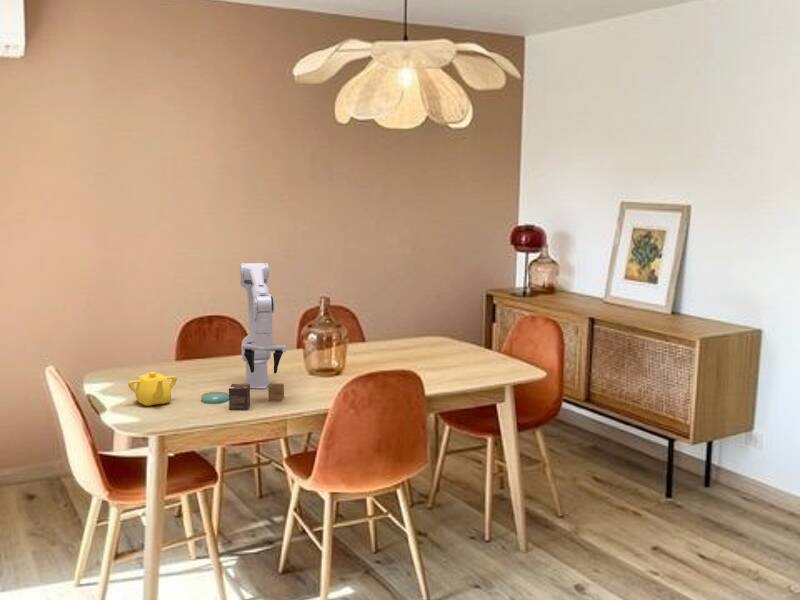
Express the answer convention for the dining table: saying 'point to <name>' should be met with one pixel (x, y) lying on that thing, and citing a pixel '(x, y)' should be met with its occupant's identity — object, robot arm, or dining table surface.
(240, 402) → the box
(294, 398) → the dining table surface
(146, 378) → the teapot
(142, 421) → the dining table surface
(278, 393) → the walnut block
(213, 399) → the coaster
